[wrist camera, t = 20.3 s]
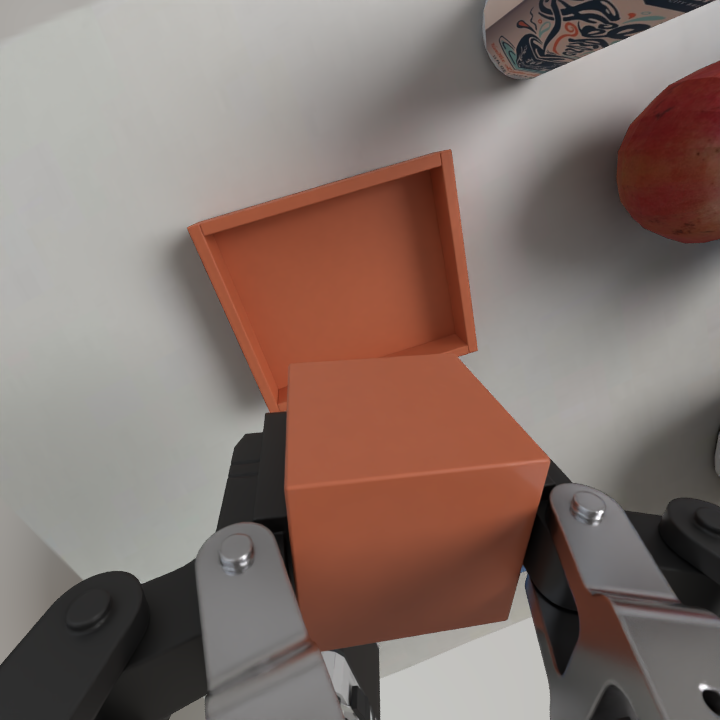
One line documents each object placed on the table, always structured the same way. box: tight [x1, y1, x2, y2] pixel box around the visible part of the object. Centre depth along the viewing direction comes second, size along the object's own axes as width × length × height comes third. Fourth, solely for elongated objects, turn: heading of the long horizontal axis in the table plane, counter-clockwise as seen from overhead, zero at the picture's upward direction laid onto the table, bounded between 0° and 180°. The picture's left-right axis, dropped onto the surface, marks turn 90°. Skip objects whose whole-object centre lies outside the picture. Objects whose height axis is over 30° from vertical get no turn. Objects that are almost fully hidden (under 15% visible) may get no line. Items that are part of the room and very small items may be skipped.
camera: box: [321, 642, 380, 720], centre depth 32 cm, size 15×11×10 cm
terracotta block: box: [284, 353, 550, 652], centre depth 9 cm, size 4×4×4 cm
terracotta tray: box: [187, 149, 478, 413], centre depth 22 cm, size 13×11×2 cm
